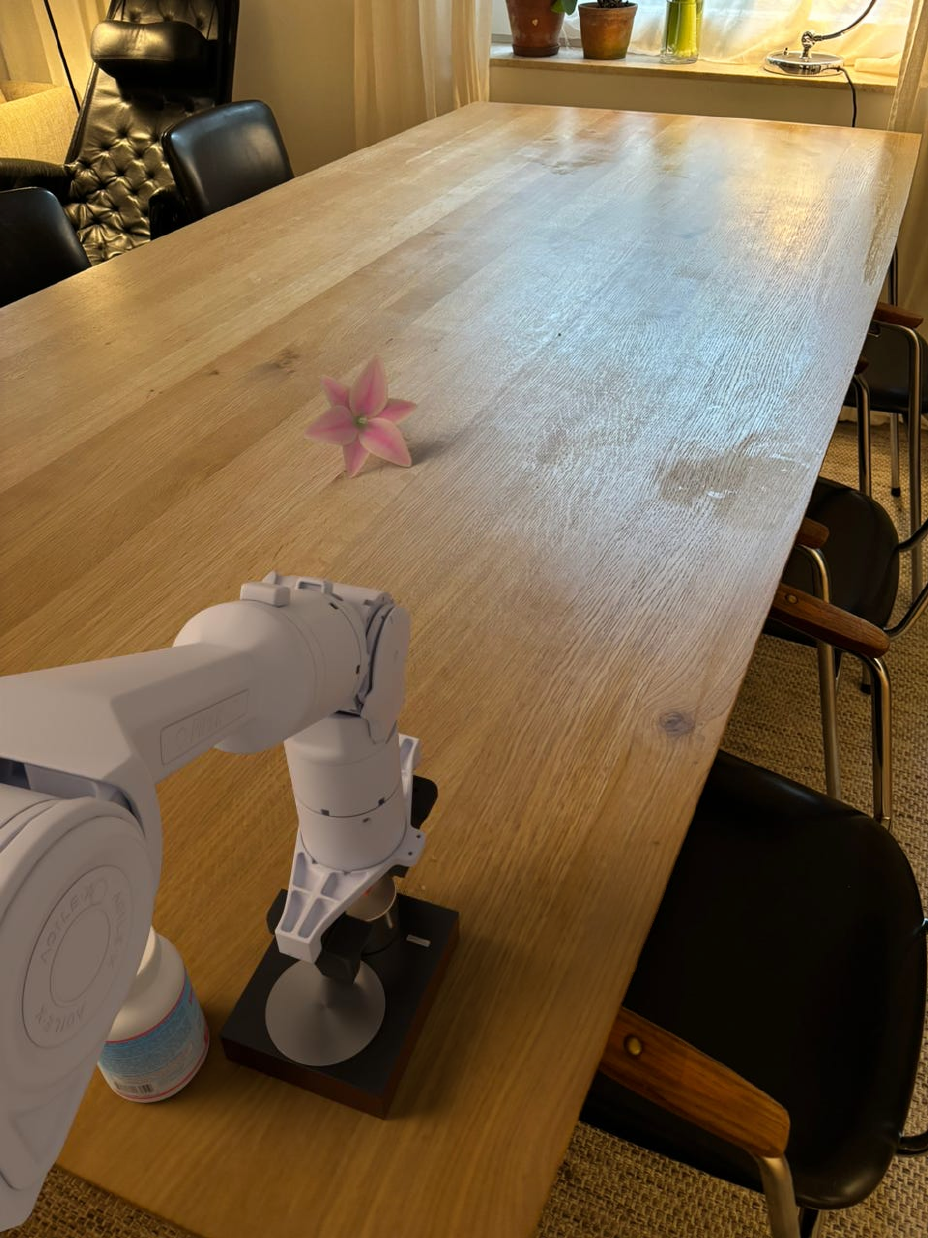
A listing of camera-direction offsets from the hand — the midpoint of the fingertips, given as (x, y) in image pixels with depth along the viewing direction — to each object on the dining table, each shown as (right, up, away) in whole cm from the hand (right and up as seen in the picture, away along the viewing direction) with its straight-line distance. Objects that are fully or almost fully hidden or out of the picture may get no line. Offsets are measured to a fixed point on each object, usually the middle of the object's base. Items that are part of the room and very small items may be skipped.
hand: (366, 920), depth 60 cm
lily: (-5, +36, +47) cm, 59 cm away
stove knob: (0, 0, 0) cm, 0 cm away
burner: (-2, -4, -4) cm, 6 cm away
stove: (-1, -5, 0) cm, 5 cm away
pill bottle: (-12, -7, -2) cm, 14 cm away
